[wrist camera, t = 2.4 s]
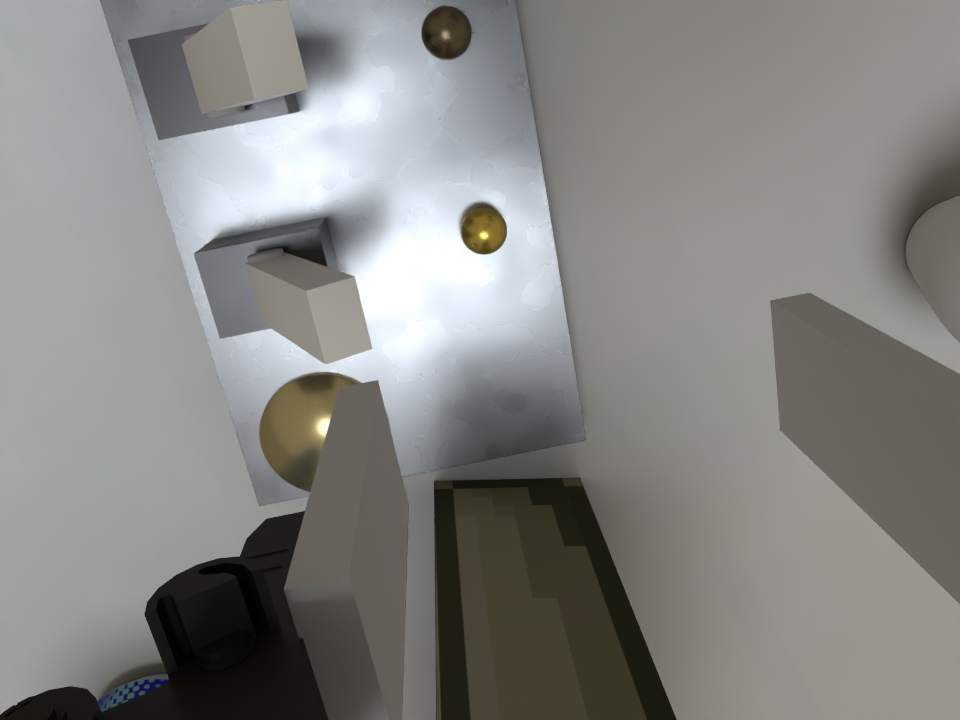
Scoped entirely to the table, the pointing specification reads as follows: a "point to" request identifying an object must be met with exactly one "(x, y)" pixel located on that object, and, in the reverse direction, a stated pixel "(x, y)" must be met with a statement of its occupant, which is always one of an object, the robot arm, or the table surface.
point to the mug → (938, 260)
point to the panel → (369, 226)
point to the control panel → (533, 609)
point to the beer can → (132, 690)
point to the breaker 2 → (309, 304)
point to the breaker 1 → (245, 58)
